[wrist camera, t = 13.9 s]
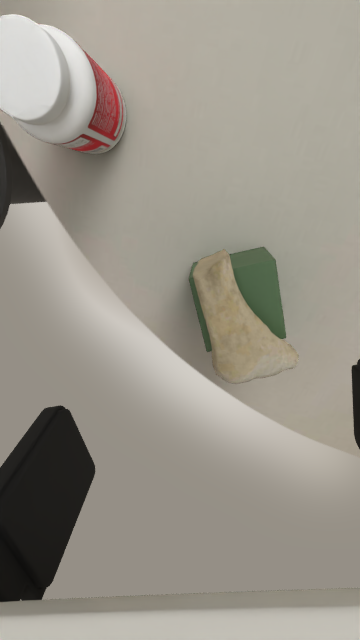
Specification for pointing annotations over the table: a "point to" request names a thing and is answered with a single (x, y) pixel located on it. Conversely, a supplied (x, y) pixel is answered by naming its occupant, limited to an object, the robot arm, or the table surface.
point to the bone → (237, 326)
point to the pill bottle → (57, 88)
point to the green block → (251, 290)
